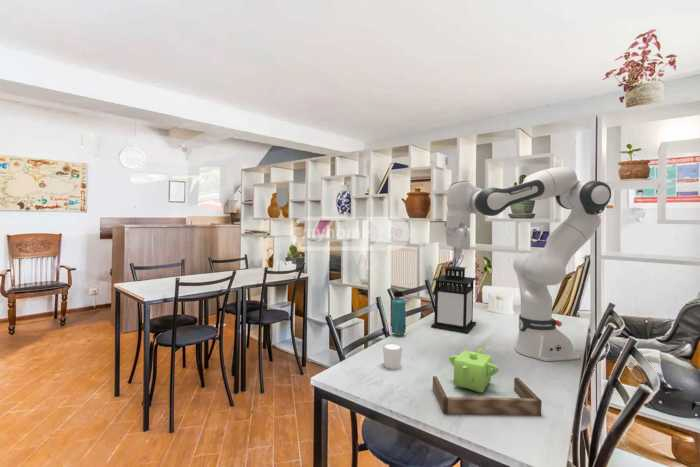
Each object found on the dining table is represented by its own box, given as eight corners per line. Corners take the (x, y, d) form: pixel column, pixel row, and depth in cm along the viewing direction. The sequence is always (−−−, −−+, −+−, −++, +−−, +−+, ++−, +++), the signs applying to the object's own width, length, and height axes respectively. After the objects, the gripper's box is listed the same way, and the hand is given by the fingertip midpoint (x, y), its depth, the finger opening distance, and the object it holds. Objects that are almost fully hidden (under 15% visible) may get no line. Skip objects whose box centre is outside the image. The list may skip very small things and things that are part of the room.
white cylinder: (389, 371, 125) (389, 351, 125) (379, 363, 131) (379, 344, 131) (405, 367, 128) (406, 348, 128) (394, 360, 134) (395, 342, 134)
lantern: (441, 319, 189) (443, 252, 187) (475, 324, 180) (477, 254, 178) (431, 327, 174) (432, 255, 172) (467, 334, 165) (469, 257, 163)
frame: (517, 390, 112) (518, 377, 112) (541, 415, 98) (541, 400, 98) (432, 388, 112) (432, 376, 112) (443, 413, 98) (443, 399, 98)
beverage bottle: (405, 338, 159) (406, 293, 158) (390, 337, 160) (390, 292, 159) (406, 333, 165) (406, 290, 164) (391, 332, 166) (392, 289, 165)
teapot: (480, 374, 123) (481, 343, 123) (506, 393, 110) (508, 358, 110) (440, 378, 119) (441, 347, 119) (462, 399, 107) (463, 363, 106)
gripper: (475, 224, 129) (474, 262, 130) (458, 222, 150) (458, 256, 150) (457, 223, 129) (456, 262, 130) (443, 222, 150) (442, 256, 150)
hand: (457, 259), depth 140 cm, fingers closed
